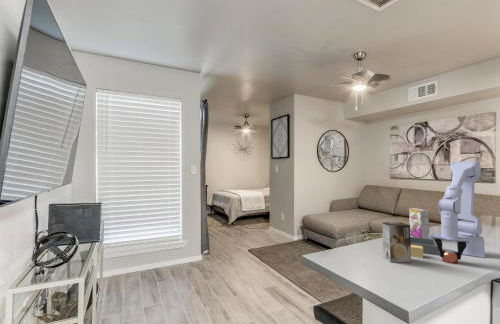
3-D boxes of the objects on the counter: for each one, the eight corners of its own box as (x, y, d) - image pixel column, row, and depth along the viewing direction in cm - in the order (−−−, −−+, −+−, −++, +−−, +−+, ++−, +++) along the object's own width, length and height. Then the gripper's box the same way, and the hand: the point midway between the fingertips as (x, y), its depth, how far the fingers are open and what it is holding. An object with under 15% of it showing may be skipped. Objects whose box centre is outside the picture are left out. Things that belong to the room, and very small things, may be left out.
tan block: (422, 255, 116) (422, 246, 116) (423, 258, 112) (423, 248, 112) (410, 253, 118) (410, 244, 118) (411, 256, 114) (410, 247, 114)
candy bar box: (408, 234, 152) (408, 207, 153) (417, 234, 152) (416, 207, 153) (421, 239, 141) (420, 210, 142) (430, 239, 141) (429, 211, 142)
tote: (435, 247, 127) (435, 239, 127) (438, 255, 116) (438, 246, 116) (404, 243, 134) (403, 235, 134) (404, 250, 123) (404, 242, 123)
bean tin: (456, 260, 109) (456, 250, 109) (459, 264, 104) (459, 253, 104) (441, 258, 112) (441, 248, 112) (443, 262, 107) (443, 251, 107)
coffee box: (402, 257, 113) (402, 221, 113) (411, 262, 106) (411, 225, 107) (382, 257, 113) (381, 221, 113) (390, 262, 107) (389, 225, 107)
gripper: (430, 226, 109) (430, 257, 108) (473, 230, 101) (474, 264, 101) (428, 223, 115) (428, 252, 114) (469, 227, 107) (470, 258, 107)
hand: (449, 257), depth 108 cm, fingers closed on bean tin, 5 cm apart
